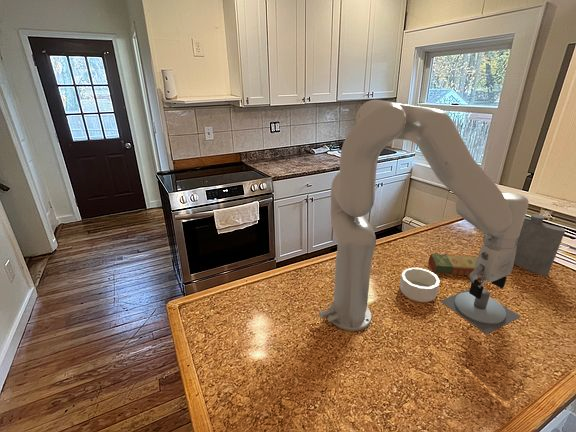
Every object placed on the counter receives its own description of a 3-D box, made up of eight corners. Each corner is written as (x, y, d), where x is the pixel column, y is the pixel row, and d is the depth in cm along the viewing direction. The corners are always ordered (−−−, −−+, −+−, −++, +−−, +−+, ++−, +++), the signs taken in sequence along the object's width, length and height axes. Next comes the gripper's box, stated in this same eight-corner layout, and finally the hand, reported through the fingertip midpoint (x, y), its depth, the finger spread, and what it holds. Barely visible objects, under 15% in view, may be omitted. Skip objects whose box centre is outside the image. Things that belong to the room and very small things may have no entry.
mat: (485, 335, 81) (486, 334, 81) (439, 302, 94) (440, 300, 94) (520, 318, 87) (521, 316, 87) (472, 288, 99) (473, 287, 99)
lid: (485, 330, 82) (490, 313, 80) (445, 301, 93) (448, 286, 91) (515, 315, 87) (521, 298, 85) (473, 290, 98) (477, 274, 96)
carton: (483, 278, 105) (485, 268, 103) (433, 275, 108) (435, 265, 106) (474, 265, 112) (476, 255, 110) (428, 262, 115) (430, 252, 113)
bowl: (417, 308, 92) (420, 292, 89) (392, 288, 101) (394, 273, 99) (443, 297, 96) (447, 282, 93) (417, 279, 105) (419, 264, 103)
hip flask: (549, 274, 106) (570, 222, 97) (544, 277, 104) (564, 225, 96) (502, 253, 118) (516, 206, 110) (496, 256, 117) (510, 209, 108)
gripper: (492, 253, 74) (478, 308, 81) (535, 237, 80) (518, 289, 87) (464, 240, 81) (453, 292, 88) (506, 226, 87) (493, 275, 94)
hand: (486, 290), depth 87 cm, fingers open, 9 cm apart
